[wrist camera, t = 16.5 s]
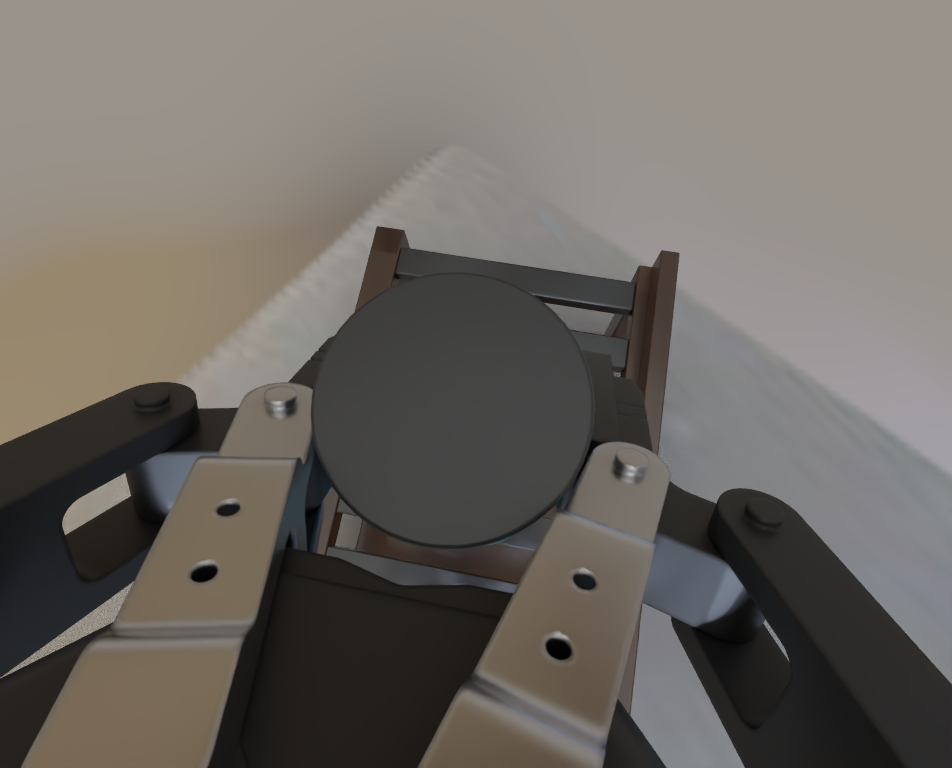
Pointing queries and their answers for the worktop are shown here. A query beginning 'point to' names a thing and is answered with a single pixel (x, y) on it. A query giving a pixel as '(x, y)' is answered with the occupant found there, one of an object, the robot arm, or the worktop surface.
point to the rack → (627, 340)
